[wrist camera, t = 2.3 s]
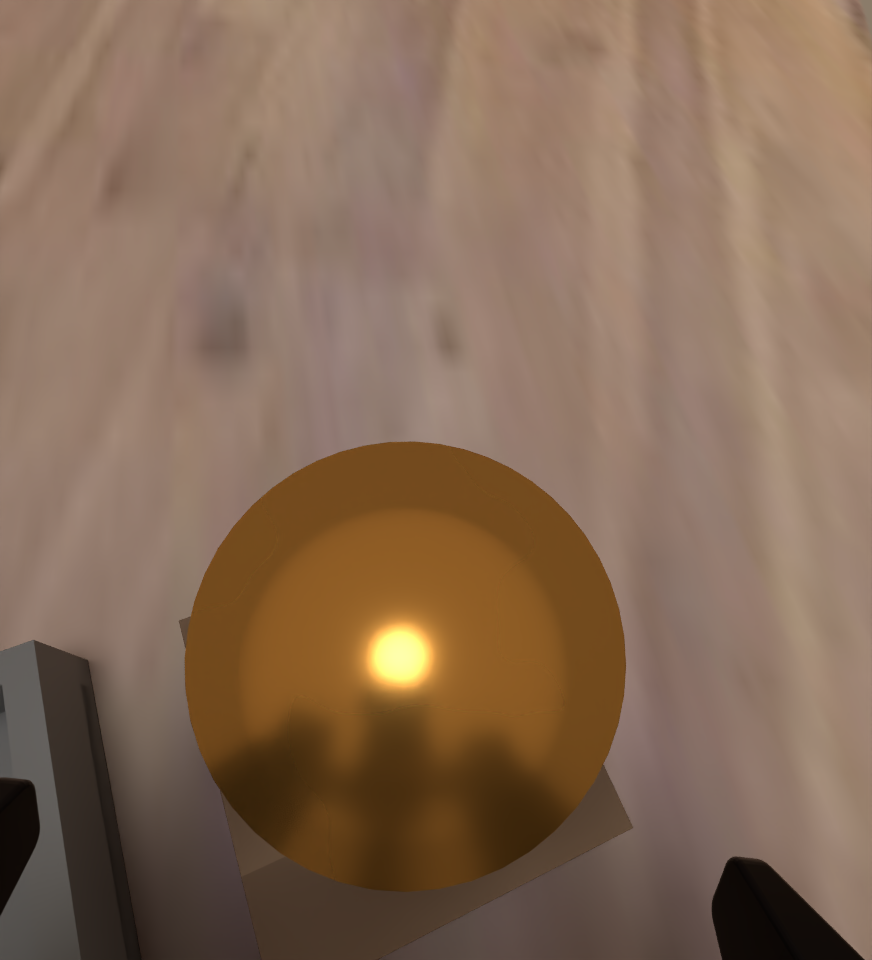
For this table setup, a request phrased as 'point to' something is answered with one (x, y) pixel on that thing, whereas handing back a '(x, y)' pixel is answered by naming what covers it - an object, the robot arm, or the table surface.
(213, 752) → the pin
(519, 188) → the table surface
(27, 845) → the robot arm
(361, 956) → the hitch block
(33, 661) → the tray
